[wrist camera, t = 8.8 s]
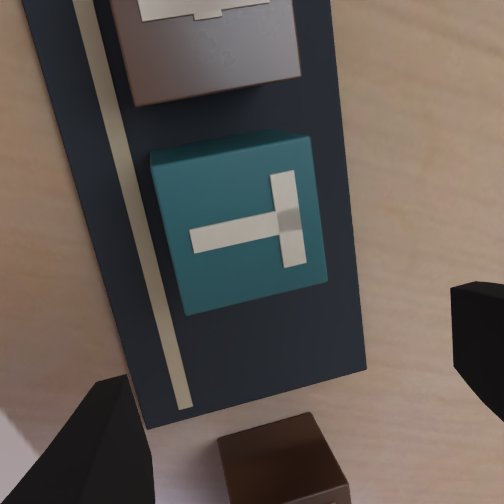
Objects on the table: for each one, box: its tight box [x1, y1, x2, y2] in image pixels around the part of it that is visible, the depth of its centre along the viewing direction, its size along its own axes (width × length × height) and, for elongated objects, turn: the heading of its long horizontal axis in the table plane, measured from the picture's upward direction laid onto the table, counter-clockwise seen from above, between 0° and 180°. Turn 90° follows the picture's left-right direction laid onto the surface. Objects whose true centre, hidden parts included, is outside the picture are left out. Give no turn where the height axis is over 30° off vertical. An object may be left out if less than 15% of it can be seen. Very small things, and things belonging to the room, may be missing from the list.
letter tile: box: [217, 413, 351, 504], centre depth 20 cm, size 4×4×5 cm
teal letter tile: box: [150, 128, 328, 316], centre depth 16 cm, size 4×4×5 cm
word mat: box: [22, 0, 367, 430], centre depth 18 cm, size 10×18×1 cm, turn 10°
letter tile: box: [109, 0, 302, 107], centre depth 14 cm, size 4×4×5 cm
